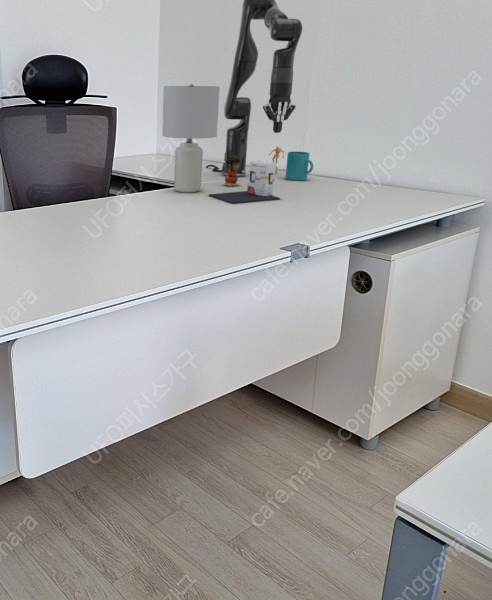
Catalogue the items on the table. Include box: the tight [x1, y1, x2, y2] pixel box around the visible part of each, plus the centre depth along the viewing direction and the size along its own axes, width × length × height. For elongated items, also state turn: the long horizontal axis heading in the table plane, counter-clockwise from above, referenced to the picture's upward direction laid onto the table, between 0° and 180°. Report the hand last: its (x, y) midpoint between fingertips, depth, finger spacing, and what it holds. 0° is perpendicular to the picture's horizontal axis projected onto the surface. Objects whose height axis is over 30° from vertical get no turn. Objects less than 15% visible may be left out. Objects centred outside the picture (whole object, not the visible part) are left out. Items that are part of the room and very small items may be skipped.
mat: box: [208, 190, 281, 205], centre depth 217 cm, size 16×20×1 cm
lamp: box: [162, 83, 220, 193], centre depth 223 cm, size 20×20×39 cm
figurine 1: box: [224, 155, 241, 187], centre depth 239 cm, size 6×6×12 cm
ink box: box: [246, 160, 277, 196], centre depth 217 cm, size 9×5×12 cm, turn 39°
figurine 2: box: [268, 146, 285, 174], centre depth 270 cm, size 8×6×12 cm
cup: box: [284, 151, 314, 182], centre depth 253 cm, size 9×12×11 cm
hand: (277, 132), depth 214 cm, fingers closed
